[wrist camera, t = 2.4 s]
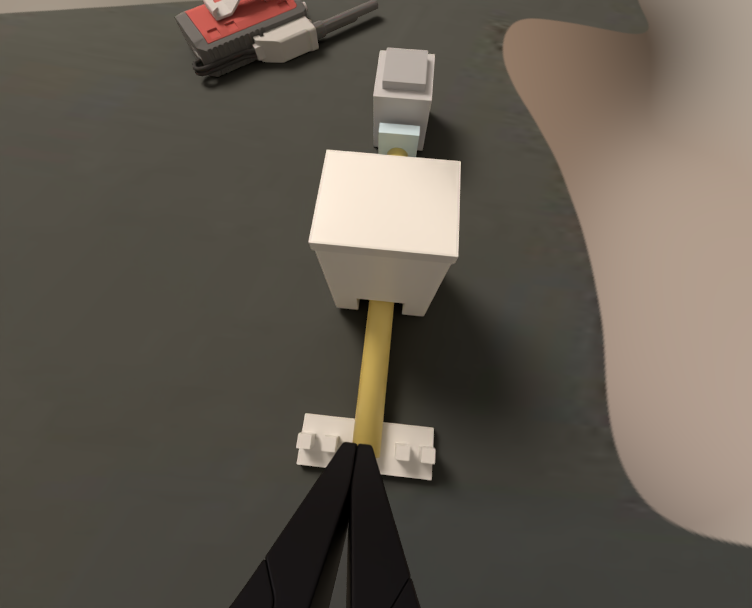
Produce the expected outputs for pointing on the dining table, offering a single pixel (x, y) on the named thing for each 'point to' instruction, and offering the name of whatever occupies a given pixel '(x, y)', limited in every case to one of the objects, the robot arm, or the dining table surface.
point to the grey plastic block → (402, 99)
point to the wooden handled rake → (371, 411)
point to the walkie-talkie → (255, 32)
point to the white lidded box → (386, 227)
